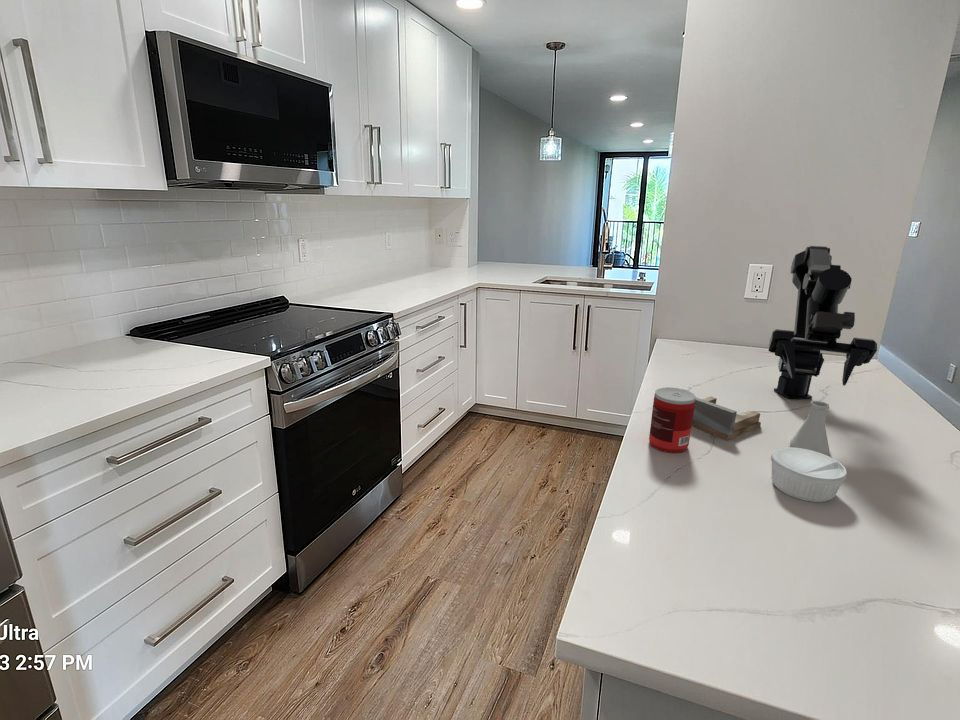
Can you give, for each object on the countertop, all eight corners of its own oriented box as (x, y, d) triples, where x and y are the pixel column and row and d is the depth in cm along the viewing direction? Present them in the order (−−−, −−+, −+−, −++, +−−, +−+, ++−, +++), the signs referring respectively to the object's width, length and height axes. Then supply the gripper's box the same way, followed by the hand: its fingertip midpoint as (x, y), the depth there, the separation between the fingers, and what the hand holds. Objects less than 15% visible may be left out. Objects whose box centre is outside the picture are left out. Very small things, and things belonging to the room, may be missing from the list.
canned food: (687, 439, 110) (695, 390, 107) (688, 456, 103) (696, 403, 100) (649, 433, 113) (655, 384, 109) (647, 450, 105) (654, 398, 102)
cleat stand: (707, 407, 128) (710, 383, 126) (760, 426, 118) (765, 401, 116) (673, 418, 121) (676, 394, 119) (726, 440, 110) (731, 413, 109)
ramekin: (841, 514, 85) (848, 485, 84) (763, 493, 91) (768, 465, 89) (839, 484, 94) (846, 457, 93) (769, 467, 100) (774, 441, 98)
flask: (836, 460, 103) (848, 412, 100) (796, 455, 105) (806, 408, 102) (821, 444, 110) (832, 398, 107) (783, 440, 111) (793, 395, 108)
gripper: (780, 291, 113) (774, 354, 106) (886, 300, 105) (887, 368, 99) (770, 321, 122) (764, 380, 115) (868, 331, 115) (867, 395, 108)
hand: (818, 381), depth 109 cm, fingers open, 9 cm apart
